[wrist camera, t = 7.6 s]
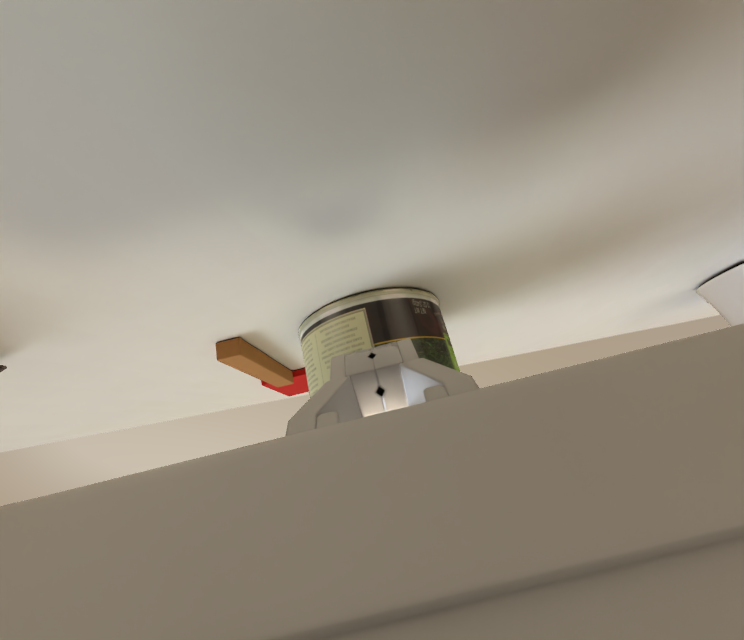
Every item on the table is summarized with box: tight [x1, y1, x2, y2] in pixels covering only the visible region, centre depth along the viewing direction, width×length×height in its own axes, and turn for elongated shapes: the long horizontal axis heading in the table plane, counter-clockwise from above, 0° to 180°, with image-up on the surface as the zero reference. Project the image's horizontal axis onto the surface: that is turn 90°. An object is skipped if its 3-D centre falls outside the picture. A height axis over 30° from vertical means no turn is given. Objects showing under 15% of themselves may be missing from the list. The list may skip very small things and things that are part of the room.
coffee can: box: [298, 288, 460, 398], centre depth 22 cm, size 10×10×14 cm
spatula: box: [216, 338, 309, 396], centre depth 31 cm, size 4×19×1 cm, turn 6°
